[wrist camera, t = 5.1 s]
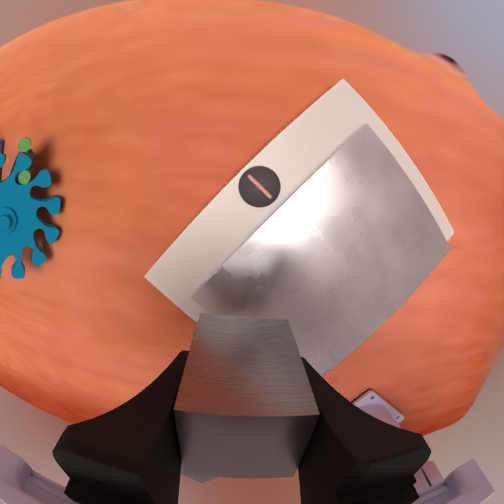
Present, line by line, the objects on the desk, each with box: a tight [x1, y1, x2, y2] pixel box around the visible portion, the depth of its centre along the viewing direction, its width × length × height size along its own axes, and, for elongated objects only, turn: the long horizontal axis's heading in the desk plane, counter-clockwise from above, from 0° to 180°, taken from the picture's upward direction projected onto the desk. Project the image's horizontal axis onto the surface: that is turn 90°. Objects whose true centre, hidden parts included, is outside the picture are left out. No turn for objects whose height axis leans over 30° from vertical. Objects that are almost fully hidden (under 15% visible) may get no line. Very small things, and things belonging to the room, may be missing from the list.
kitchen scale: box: [144, 79, 454, 377], centre depth 17 cm, size 14×18×3 cm
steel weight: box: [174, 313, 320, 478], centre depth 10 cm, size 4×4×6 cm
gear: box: [0, 137, 61, 279], centre depth 14 cm, size 11×6×10 cm
